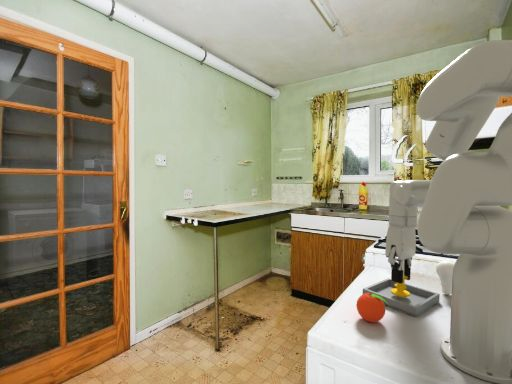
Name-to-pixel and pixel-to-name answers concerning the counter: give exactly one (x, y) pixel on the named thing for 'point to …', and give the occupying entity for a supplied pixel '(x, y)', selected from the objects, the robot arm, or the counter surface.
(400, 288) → the candle
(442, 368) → the counter surface
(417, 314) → the tray
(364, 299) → the clementine
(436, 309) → the counter surface
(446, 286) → the lightbulb
